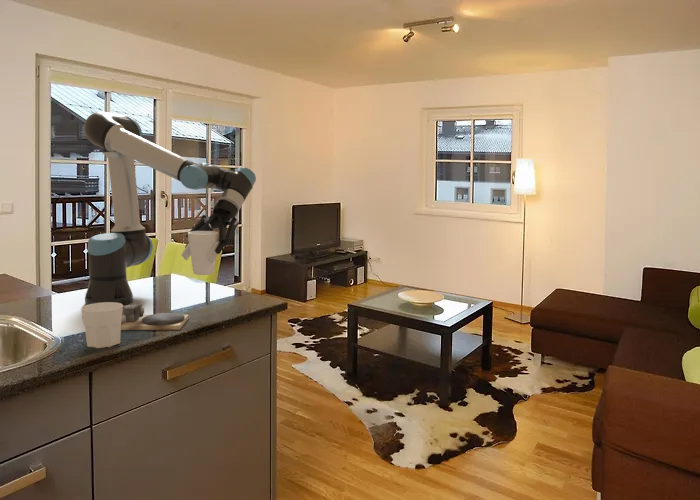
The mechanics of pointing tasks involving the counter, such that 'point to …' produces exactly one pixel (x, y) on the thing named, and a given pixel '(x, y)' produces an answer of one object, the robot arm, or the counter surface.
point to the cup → (102, 323)
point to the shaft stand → (150, 319)
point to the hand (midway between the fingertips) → (196, 259)
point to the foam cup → (202, 250)
